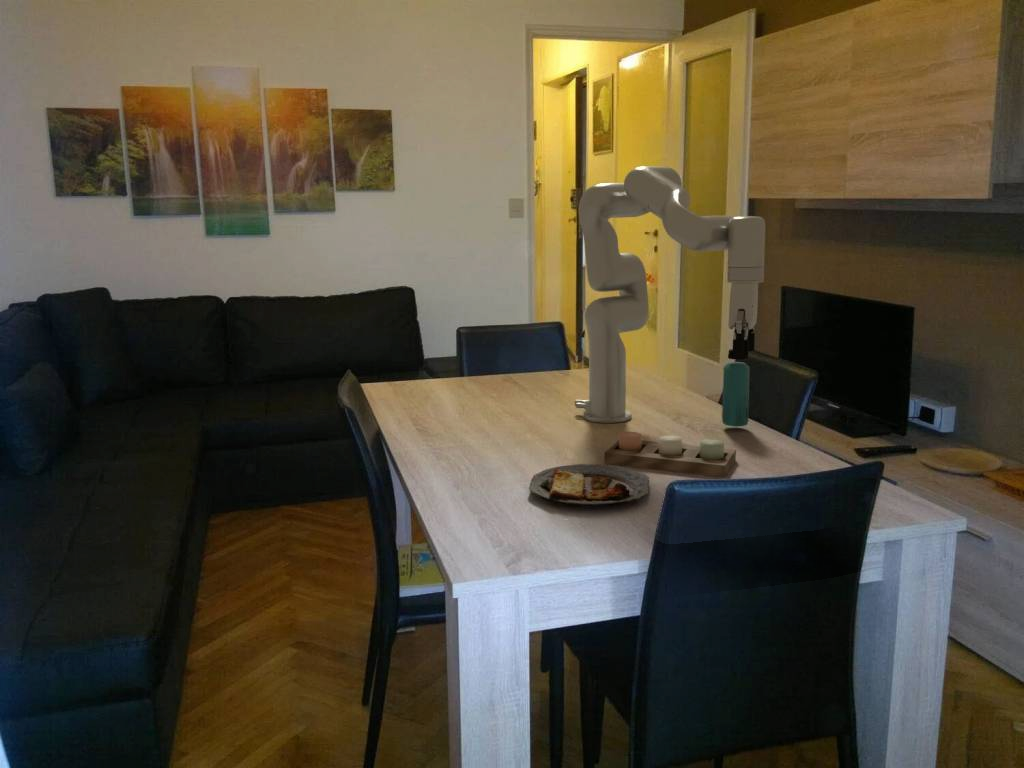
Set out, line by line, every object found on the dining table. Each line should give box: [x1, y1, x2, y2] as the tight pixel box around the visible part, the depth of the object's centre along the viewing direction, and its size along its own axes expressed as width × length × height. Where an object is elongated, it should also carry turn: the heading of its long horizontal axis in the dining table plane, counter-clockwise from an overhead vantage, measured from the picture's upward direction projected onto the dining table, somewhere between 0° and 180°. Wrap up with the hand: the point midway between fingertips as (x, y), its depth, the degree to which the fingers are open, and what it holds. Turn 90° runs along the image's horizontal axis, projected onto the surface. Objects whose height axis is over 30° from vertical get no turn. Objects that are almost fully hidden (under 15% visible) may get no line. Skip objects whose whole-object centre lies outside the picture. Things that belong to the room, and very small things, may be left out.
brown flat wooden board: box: [603, 439, 737, 478], centre depth 187 cm, size 26×12×2 cm, turn 65°
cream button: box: [658, 435, 683, 456], centre depth 186 cm, size 5×5×4 cm
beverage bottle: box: [721, 348, 751, 427], centre depth 210 cm, size 6×7×20 cm
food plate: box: [528, 463, 650, 507], centre depth 170 cm, size 25×23×4 cm
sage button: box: [699, 439, 725, 461], centre depth 183 cm, size 5×5×4 cm
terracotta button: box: [618, 431, 643, 452], centre depth 190 cm, size 5×5×4 cm
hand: (743, 354), depth 186 cm, fingers open, 9 cm apart
